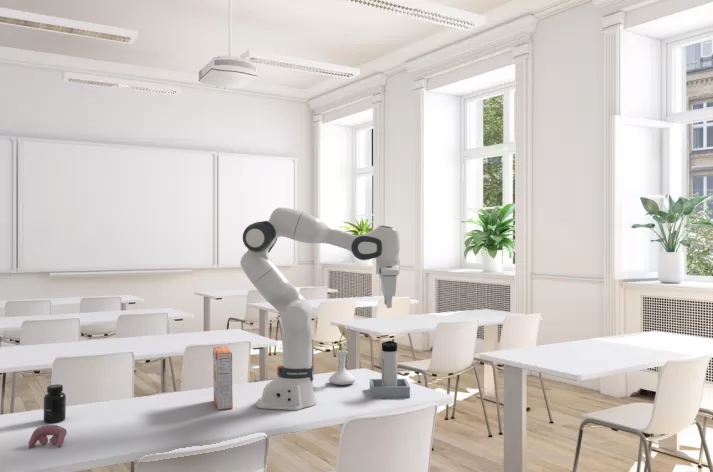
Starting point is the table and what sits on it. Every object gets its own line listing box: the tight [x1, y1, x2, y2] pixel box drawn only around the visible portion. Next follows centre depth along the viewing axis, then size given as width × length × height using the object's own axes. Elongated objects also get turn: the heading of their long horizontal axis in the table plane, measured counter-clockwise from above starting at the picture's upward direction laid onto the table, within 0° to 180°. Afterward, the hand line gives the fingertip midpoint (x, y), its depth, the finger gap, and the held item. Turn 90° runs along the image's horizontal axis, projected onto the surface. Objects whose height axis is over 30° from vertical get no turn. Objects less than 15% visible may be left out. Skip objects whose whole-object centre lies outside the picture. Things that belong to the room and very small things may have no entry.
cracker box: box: [212, 345, 234, 411], centre depth 233 cm, size 14×6×21 cm, turn 18°
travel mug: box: [381, 340, 398, 387], centre depth 249 cm, size 6×7×20 cm
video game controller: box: [28, 424, 68, 449], centre depth 189 cm, size 10×5×7 cm, turn 92°
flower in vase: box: [328, 324, 356, 386], centre depth 266 cm, size 13×11×25 cm
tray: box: [369, 378, 411, 399], centre depth 250 cm, size 15×14×4 cm
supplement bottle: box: [43, 384, 67, 424], centre depth 213 cm, size 7×7×12 cm
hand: (387, 306), depth 232 cm, fingers open, 8 cm apart
